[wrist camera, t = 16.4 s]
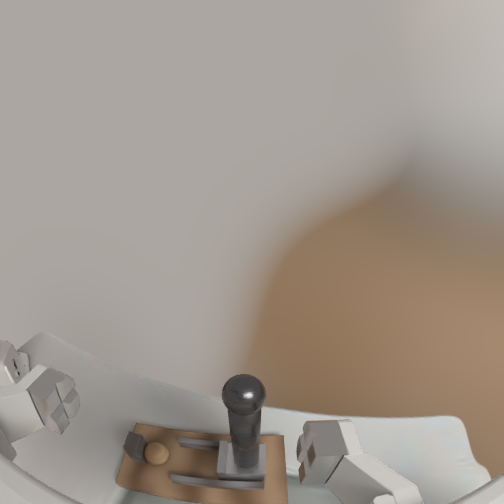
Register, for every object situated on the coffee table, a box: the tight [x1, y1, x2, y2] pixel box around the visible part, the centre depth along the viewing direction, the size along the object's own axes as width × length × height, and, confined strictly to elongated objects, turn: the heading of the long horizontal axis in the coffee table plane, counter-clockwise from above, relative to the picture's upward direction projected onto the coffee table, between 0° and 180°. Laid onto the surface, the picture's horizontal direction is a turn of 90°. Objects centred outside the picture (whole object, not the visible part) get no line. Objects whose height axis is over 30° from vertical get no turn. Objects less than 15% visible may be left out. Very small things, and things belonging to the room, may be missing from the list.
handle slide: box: [217, 374, 266, 482], centre depth 25 cm, size 6×5×19 cm
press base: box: [116, 423, 288, 504], centre depth 28 cm, size 23×12×6 cm, turn 89°
